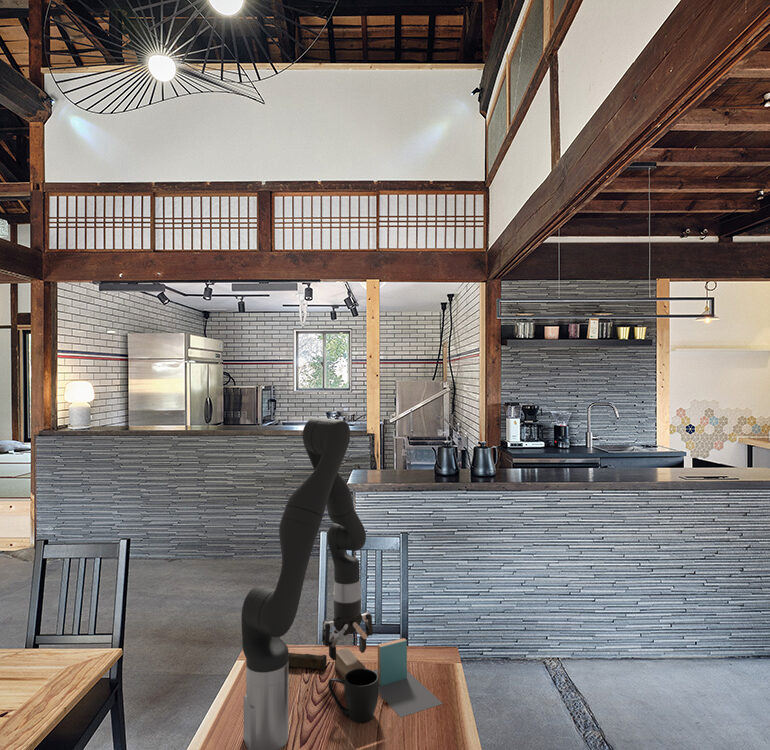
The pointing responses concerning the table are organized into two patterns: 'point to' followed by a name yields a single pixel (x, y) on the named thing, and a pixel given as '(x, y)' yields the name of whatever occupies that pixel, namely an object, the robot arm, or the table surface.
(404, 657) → the tile
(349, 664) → the tan wooden bar
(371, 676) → the mug
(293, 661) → the hand tool
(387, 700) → the rubber mat
